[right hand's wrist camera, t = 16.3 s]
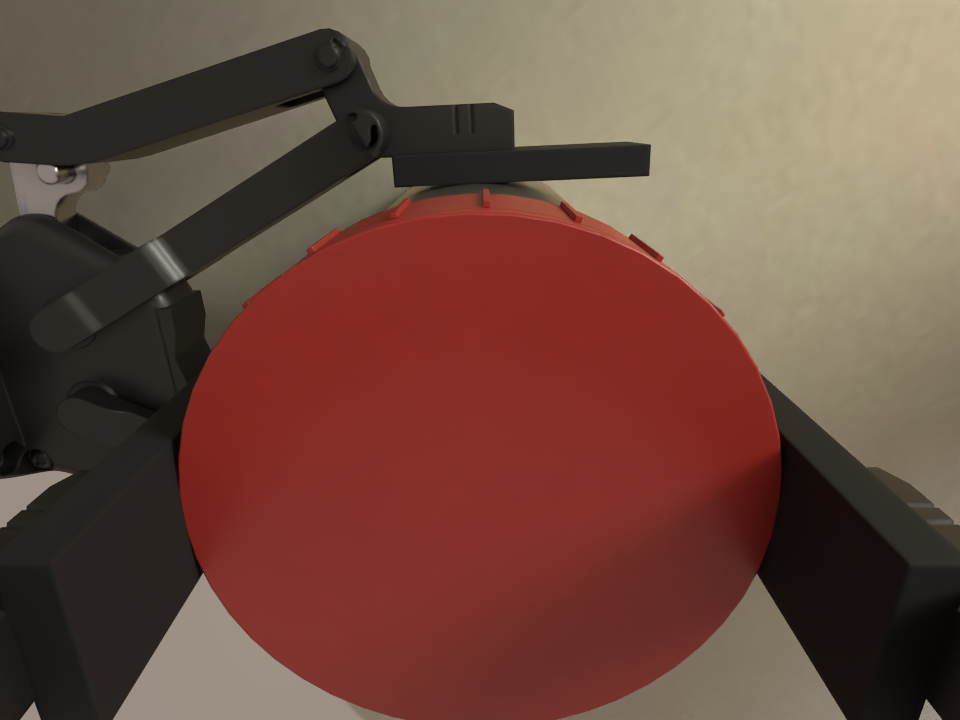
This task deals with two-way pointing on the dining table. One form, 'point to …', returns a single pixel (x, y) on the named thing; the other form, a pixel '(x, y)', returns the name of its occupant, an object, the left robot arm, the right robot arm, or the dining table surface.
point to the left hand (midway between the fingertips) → (628, 329)
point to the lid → (480, 463)
